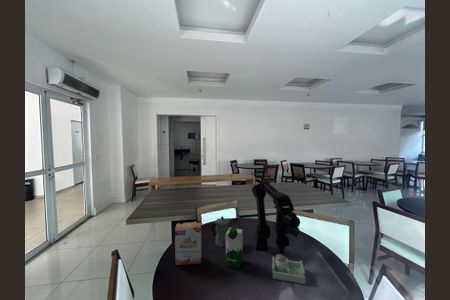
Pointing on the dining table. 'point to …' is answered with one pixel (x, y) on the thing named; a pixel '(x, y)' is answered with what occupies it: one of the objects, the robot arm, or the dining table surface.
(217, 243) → the coffeepot
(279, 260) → the jar
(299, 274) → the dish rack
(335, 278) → the dining table surface
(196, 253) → the cracker box
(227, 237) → the milk carton
